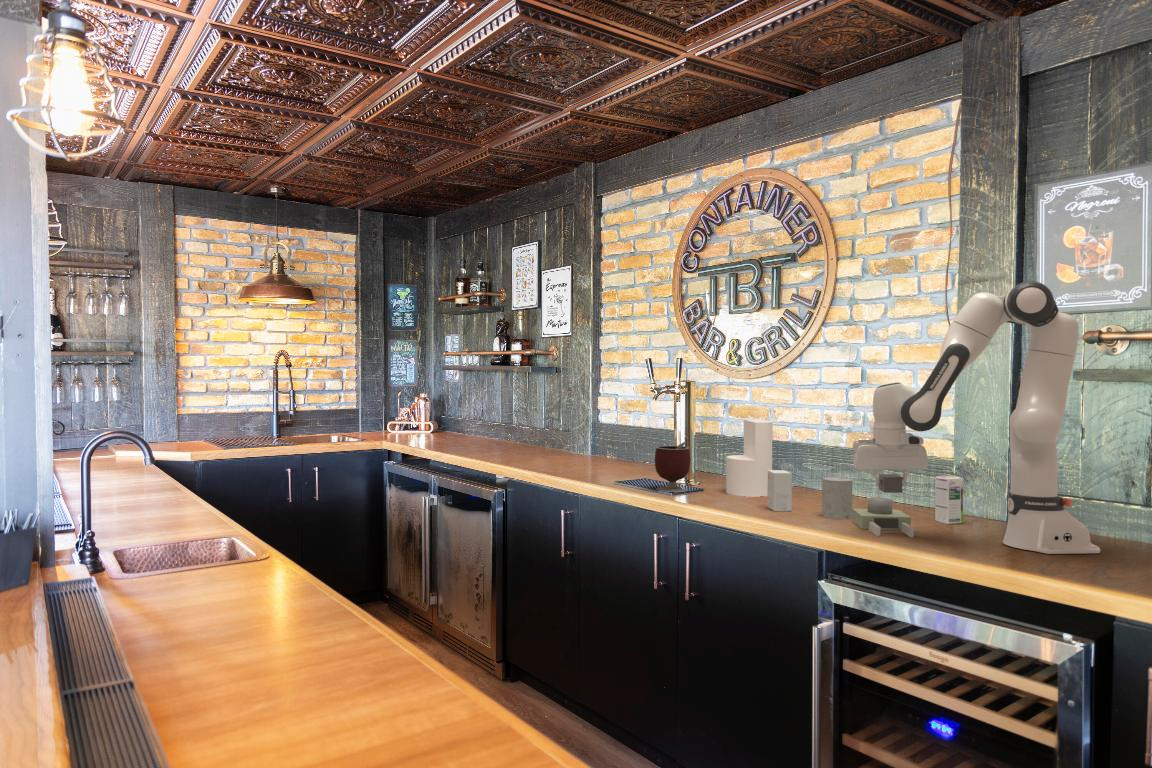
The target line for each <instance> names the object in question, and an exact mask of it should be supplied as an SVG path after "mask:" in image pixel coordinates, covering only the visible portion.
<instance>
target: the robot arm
mask: <svg viewBox="0 0 1152 768" xmlns="http://www.w3.org/2000/svg"><path fill="white" fill-rule="evenodd" d="M1005 323H1008V324H1009V323H1010V324H1015V325H1019V326H1020V325H1026V326H1028V328H1029V331H1030V341H1029V344H1028V348H1027V352H1026V357H1025V360H1024V365H1023V369H1022V373H1021V377H1020V378H1021V379H1020V385H1019V389H1018V390H1019V391H1018V396H1017V401H1016V406H1015V409H1014V410H1013V411H1012V413H1011V415H1010V417H1009V418H1010V419H1009V450H1010V451H1009V454H1010V458H1009V459H1010V477H1009V478H1010V483H1009V484H1010V485H1009V486H1010V488H1009V489H1010V490H1009V492H1008V495H1007V512H1008V519H1007V525H1006V530H1005V533H1004V536H1003V540H1002V544H1004V545H1006V546H1009V547H1011V548H1016V549H1020V550H1026V551H1031V552H1032V551H1033V552H1038V553H1043V554H1047V555H1048V554H1049V555H1052V554H1053V555H1058V554H1059V555H1061V554H1062V555H1065V554H1067V555H1068V554H1070V555H1071V554H1100V553H1101V551H1102V550H1101V548H1100V547H1099V546H1098V545H1096V544H1095V543H1094V544H1093V543H1092V542H1091V536H1090V532H1089V529H1088V527H1087V526H1086V525H1085V524H1084V523H1082V522H1081V521H1079V520H1078V519H1077V518H1076V517H1074V516H1073V515H1071V514H1070V513H1069V512H1068V511H1066V510H1065V507H1067V508H1070V507H1072V506H1073V505H1074V503H1073V500H1072V499H1069V498H1066V497H1064V498H1063V497H1061V496H1060V495H1058V487H1059V486H1058V482H1059V481H1058V479H1059V477H1058V475H1059V473H1058V472H1059V471H1058V470H1059V465H1058V453H1057V451H1058V450H1057V438H1058V436H1059V434H1060V433H1061V430H1062V425H1063V421H1064V414H1065V410H1066V402H1067V397H1068V390H1069V384H1070V381H1071V376H1072V371H1073V367H1074V363H1075V360H1076V359H1075V358H1076V357H1077V356H1076V355H1077V350H1078V345H1079V343H1078V341H1079V331H1080V330H1079V322H1078V320H1077V319H1076V318H1075V317H1074V316H1072V315H1071V314H1069V313H1064V312H1060V311H1059V308H1058V305H1057V302H1056V300H1055V297H1054V295H1053V292H1052V291H1051V290H1050V289H1049V287H1048V286H1047V285H1046V284H1044V283H1041V282H1039V281H1035V280H1034V281H1033V280H1031V281H1029V280H1027V281H1024V282H1021V283H1018V284H1017V285H1015V286H1014V287H1012V288H1010V290H1008V292H1006V293H1005V294H1003V295H997V294H993V293H991V292H988V291H987V292H986V291H984V292H983V291H982V292H977V293H975V294H973V295H972V296H971V297H970V298H969V299H968V300H967V301H966V303H964V305H963V306H962V307H961V309H960V310H959V311H958V312H957V314H956V315H955V317H954V319H953V321H952V322H951V323H950V326H949V327H948V329H947V330H946V331H947V332H946V334H945V336H944V337H943V341H942V344H941V349H940V353H939V357H938V360H937V362H936V364H935V366H934V368H933V370H931V373H930V374H929V376H928V378H927V380H926V381H925V383H924V384H923V385H922V387H921V388H920V390H919V391H917V390H914V389H912V388H910V387H908V386H906V385H905V384H903V383H902V382H890V383H886V384H881V385H879V386H877V387H876V389H874V392H873V397H872V398H873V401H872V416H873V417H874V423H873V427H872V428H873V431H872V432H873V436H872V438H858V439H857V440H856V439H855V440H854V442H853V443H852V450H853V453H854V456H853V465H852V466H853V468H854V469H855V470H857V471H870V472H871V475H872V476H873V478H874V480H875V486H878V487H879V486H882V480H881V479H879V476H878V475H879V471H902V474H903V475H902V476H901V477H902V487H903V486H906V480H907V479H908V477H909V475H910V474H911V473H910V471H925V470H926V469H927V468H928V465H929V460H928V453H927V450H926V447H924V440H925V439H924V437H922V436H918V435H915V434H913V433H909V432H907V427H908V429H910V430H913V431H916V432H927V431H930V430H933V428H935V427H937V425H938V424H939V422H940V420H941V417H942V407H943V403H944V400H945V398H946V396H947V395H948V393H949V391H950V390H951V389H952V386H953V385H954V384H955V382H956V381H957V379H958V377H959V375H961V374H962V372H963V371H964V370H965V369H966V368H967V367H968V366H969V365H971V364H972V363H973V362H975V360H977V358H978V357H979V356H980V355H982V353H983V352H984V351H985V349H986V348H987V347H988V346H989V344H990V343H991V341H992V339H993V338H994V336H995V334H996V333H997V331H998V330H999V329H1000V328H1001V326H1002V325H1003V324H1005Z"/></svg>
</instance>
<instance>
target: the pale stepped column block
mask: <svg viewBox="0 0 1152 768" xmlns="http://www.w3.org/2000/svg"><path fill="white" fill-rule="evenodd" d="M773 422H774V421H772V420H767V419H765V420H764V419H743V454H736V455H735V454H733V455H727V456H726V457H725V458H726V459H725V460H726V461H725V462H726V464H725V465H726V468H725V471H726V472H725V475H726V476H725V492H726V494H728V495H730V494H731V495H730V496H736V497H744V496H745V497H750V498H758V497H759V498H760V496H764V497H767V492H768V470H773ZM745 497H744V498H745Z"/></svg>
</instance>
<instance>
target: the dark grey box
mask: <svg viewBox="0 0 1152 768" xmlns="http://www.w3.org/2000/svg"><path fill="white" fill-rule="evenodd" d="M902 477H903V476H901V475H899V474H897V473H878V478H879V479H881V480H882V486H878V490H879V491H881V492H882V493H885V494H889V493H891V494H894V493H895V494H898V493H899V494H900V493H901V494H902V493H903V486H902Z"/></svg>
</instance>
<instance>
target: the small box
mask: <svg viewBox="0 0 1152 768" xmlns="http://www.w3.org/2000/svg"><path fill="white" fill-rule="evenodd" d="M766 497H767V498H766V499H767V502H766V504H767V505H766V507H767V508H768V509H770V510H772V511H774V512H792V511H793V473H792V472H790V471H787V470H785V469H784V470H783V469H781V470H780V469H776V470H775V469H772V470H768V492H767V496H766Z"/></svg>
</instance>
